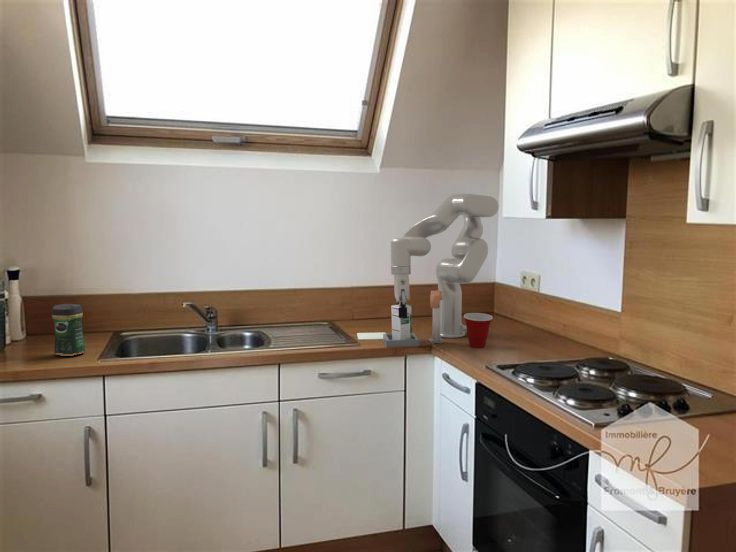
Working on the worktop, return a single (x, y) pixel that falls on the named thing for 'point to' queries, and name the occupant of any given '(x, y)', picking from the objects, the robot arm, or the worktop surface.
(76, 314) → the coffee jar
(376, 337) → the mat
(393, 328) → the syrup box
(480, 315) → the plastic cup
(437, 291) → the orange bar
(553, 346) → the worktop surface
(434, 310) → the socket
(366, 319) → the worktop surface
